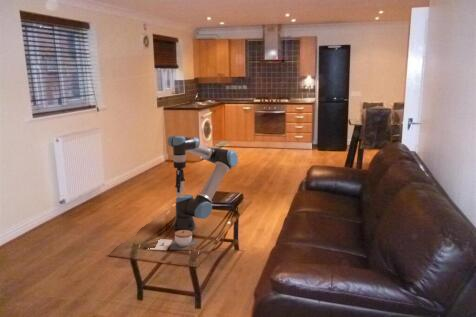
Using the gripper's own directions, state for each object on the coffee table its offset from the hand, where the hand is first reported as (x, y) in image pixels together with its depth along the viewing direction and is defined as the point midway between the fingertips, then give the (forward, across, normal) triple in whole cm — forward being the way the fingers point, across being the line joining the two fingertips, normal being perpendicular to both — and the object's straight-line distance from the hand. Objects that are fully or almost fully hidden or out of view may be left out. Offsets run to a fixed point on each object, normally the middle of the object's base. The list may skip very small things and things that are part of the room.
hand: (180, 194), depth 261 cm
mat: (+30, +12, +3) cm, 32 cm away
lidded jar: (+29, +12, +3) cm, 32 cm away
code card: (+29, +11, -13) cm, 34 cm away
